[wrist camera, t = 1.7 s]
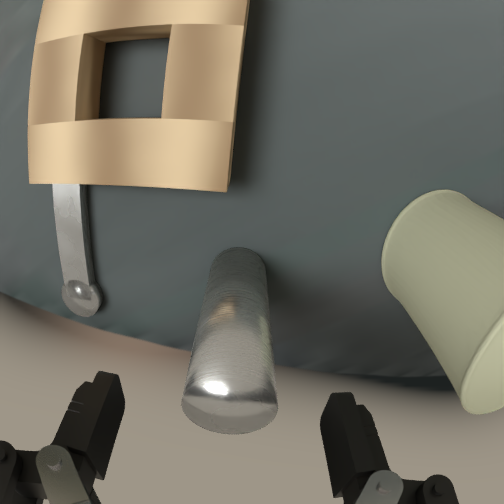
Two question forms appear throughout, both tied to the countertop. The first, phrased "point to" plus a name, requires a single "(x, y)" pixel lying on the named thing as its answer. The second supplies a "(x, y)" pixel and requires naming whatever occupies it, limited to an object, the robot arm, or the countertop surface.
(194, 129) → the socket block
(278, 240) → the countertop surface
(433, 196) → the can
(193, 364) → the pin
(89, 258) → the bar
